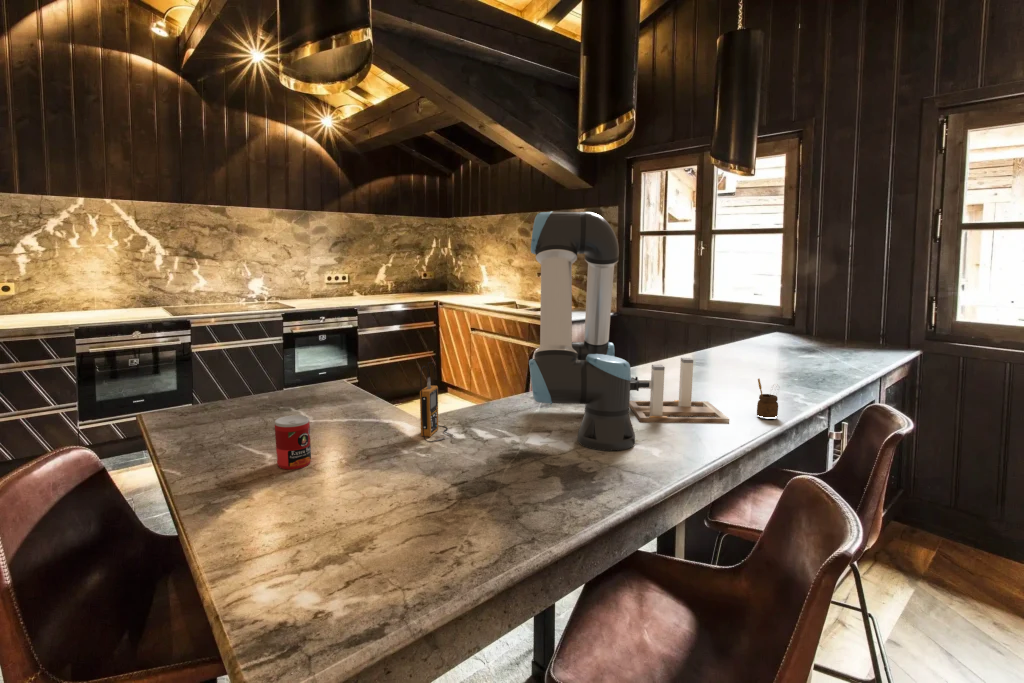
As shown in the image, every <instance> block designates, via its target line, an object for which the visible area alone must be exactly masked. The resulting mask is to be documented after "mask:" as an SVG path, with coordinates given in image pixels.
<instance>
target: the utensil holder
mask: <svg viewBox="0 0 1024 683" xmlns="http://www.w3.org/2000/svg"><path fill="white" fill-rule="evenodd" d="M757 384H758V387H759V390H760V394H759V395H758V401H757V405H756V406H757V407H756V416H757V415H759V416H763V417H775V416H777V415H779V402H778V395H779V392H780V385H779V384H777V383H776V387H778V388H776V389H777V391H776V389H774V388H775V383H774V384H773V385H772V386H771V388H770V391H769V392H773V393H763V390H762V388H763V387H762V382H761V379H760V378H757ZM773 389H774V390H773ZM776 392H777V393H776ZM777 417H778V416H777Z"/></svg>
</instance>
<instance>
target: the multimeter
mask: <svg viewBox="0 0 1024 683" xmlns="http://www.w3.org/2000/svg"><path fill="white" fill-rule="evenodd" d="M429 364H431V365H432V366H433V374H435V365H434V362H429V361H428V362H427V366H425V365H423V366H422V367H421V369H420V383H419V384H422V373H423V372H422V370H423V368H425V369H426V373H427V383H426V387H424V388H422V385H420V391H419V408H420V409H419V412H420V414H419V415H420V436H421V437H423V439H424V441H425V442H428V443H433V442H439V441H442V440H445V439H447V438H449V437H454V438H456V436H455V435H454V434H452V433H450V432H447V430H448V427H447V426H444V425H442V426H443V427H442V428H446V429H445V430H443V432H444V433H445V434H447V435H449V436H446V437H445V436H443V437H440V438H437V439H434V440H427V439H426V438H431V437H432V435H434V434H435V433H436V432H438V431H439V427H440V425H439V387H438V385H436V382H435V380H433V385H431V377H430V376H431V372H430V371H431V370H430V366H429Z"/></svg>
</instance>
